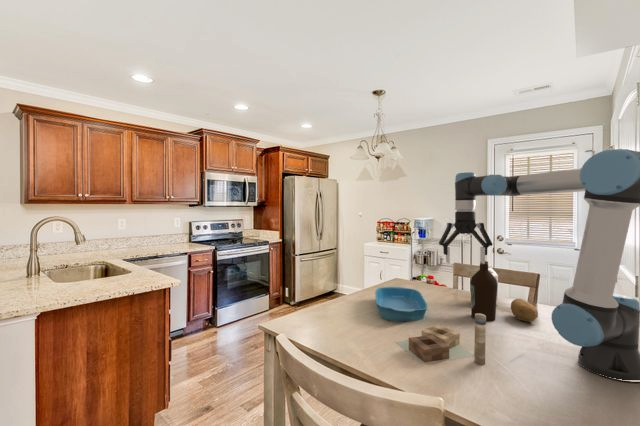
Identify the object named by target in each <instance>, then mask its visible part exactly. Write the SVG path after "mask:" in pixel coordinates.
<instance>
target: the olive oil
mask: <svg viewBox="0 0 640 426" xmlns="http://www.w3.org/2000/svg"><path fill="white" fill-rule="evenodd" d="M488 266H489V261H487V260H485V264H482V263H480V262H479V270H477V272H476V273H474V274H473V275H472V276H471V278H470V283H469V284H470V302H471V303H470V308H471V314H470V315H471V317H472V318H473V319H475V314H477V313H480V314H484V315H486V322H495V321H496V317H497V313H496V312H497V305H496V301H497V288H498V289H499V286H498V285H499V283H498V284H497V280H496V278H495V277H494V276H493V275H492V274H491V273H490V272H489V270H488Z"/></svg>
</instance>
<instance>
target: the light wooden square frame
mask: <svg viewBox="0 0 640 426" xmlns="http://www.w3.org/2000/svg"><path fill="white" fill-rule="evenodd" d="M427 335H433V336H435V337H436V338H438V339H439V340H441V341H442V342H444V343H445V344H447V345H448V346H449V349H451V348H453V347H455V346H457V345H459V346H460V345H461V344H460V340H461V339H460V336H461V335H460V332H458V331H455V330H452V329H449V328H447V327H444V326H440V325H438V324H436V325H433V326H430V327H428V328H425V329H421V336H427Z"/></svg>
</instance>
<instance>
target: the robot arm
mask: <svg viewBox="0 0 640 426" xmlns="http://www.w3.org/2000/svg"><path fill="white" fill-rule="evenodd" d="M454 179H455V181H454V191H455V192H454V193H455V194H454V196H455V198H454V199H455V200H454V201H455V203H454V205H455V206H454V207H455V208H454V209H455V212H454V217H455V218H454V223H451V222H447V223H446V228H445V230H444V232H443V234H442V236H441V237H440V239H439V242H438V244H439V246H442V248H443V251H442V252H443V254H444V256H445V262H446V264H450V263H451V261H450V259H451V252H450V251H451V249H450V245H451V243H452V242H453V241H454V240H455V239H456V238H457V237H458V236H459V235H460V234H461V235H465V234H467V235H470V234H471V235H472V236H473V237H474V239H476V240H477V242H478V243H479V244H480V245H481V246H480V249H479V250H480V252H479V253H480V254H479V255H480V257H479V259H480V261H479V264H480V263H482V264H485V261H486V256H487V255H488V248H489V247H491V246H493V242H492V240H491V238H490V236H489V234H488V233H487V231H486V229H485V224H484V222H478V223H476V211H475V210H476V197H478V196H483V197H484V196H487V197H488V196H491V197H492V196H493V197H494V196H498V197H499V196H506V197H507V196H508V197H518V196H525V195H526V196H527V195H529V196H530V195H543V194H559V193H560V194H561V193H563V194H564V193H579V192H584V196H583V199H584V200H585V202H586V203H587V204H588V205H589V207H588V211H587V216H586V221H585V225H584V226H585V227H584V231H583V235H582V239H581V246H580V251H579V255H578V258H577V263H576V268H575V273H574V279H573V283H572V286H571V287H569V288H566V289H565V290H564V291H563V292H564V293H563V297H562V302H561V303H560V304H559V305H557V306H556V307H554V309H553V310H552V312H551V322H552V325H553V328H554V329H555V330H556V331H557V332H558V335H559V336H560V337H562V338H563V339H564V340H565V341H567V342H568V343H570V344H572V345H574V346H577V347H581V348H580V350H579V352H578V356H577V358H578V359H577V361H579V362H578V364H579V363H580V364H581V365H582V366H581V365H580V366H581V367H583V366H584V367H585V368H584V367H583V368H584V369H586V368H587V369H589V370H591V371H593V372H595V373H598V374H601V375H604V376H607V377H611V378H616V379H622V380H640V351H639V348H640V347H639V343H640V339H639V338H640V302H639V300H638V299H636V298H634V297H633V296H632V297H631V296H628V295H624V294H618V293H614V291H615V288H616V284H617V279H618V275H619V270H620V266H621V262H622V257H623V254H624V248H625V244H626V241H627V240H626V239H627V236H628V232H629V228H630V223H631V220H632V219H631V218H632V215H633V211H634V210H635V209H637V208H639V207H640V151H639V150H632V149H625V148H618V149H614V148H611V149H606V150H605V149H604V150H601V151H600V152H597V153H595V154H593V155H592V156H591V157H589V158H588V159H587V160H586V161H585V162H584V163H583V164H582V166H581V167H579V168H571V169H564V170H563V169H562V170H554V171H546V172H538V173H531V174H522V175H520V174H519V175H512V176H503V175H502V174H488V175H481V176H480V175H479V176H476V173H475V172H473V171H472V172H459V173H457V174H456V175H455V178H454ZM453 228H454V229H455V230H454V231H453V233H451V235H450V236H449V234H450V232H451V230H452V229H453ZM476 228H477V229H478V230H479V231H480V233H481V235H482V237H483V238H482V237H481V236H480V235H479V233H478V232H477V231H476V230H475V229H476ZM448 236H449V237H448ZM587 369H586V370H587ZM589 370H588V371H589ZM591 371H590V372H591ZM593 372H592V373H593ZM595 373H594V374H595ZM598 374H597V375H598ZM601 375H600V376H601Z"/></svg>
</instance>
